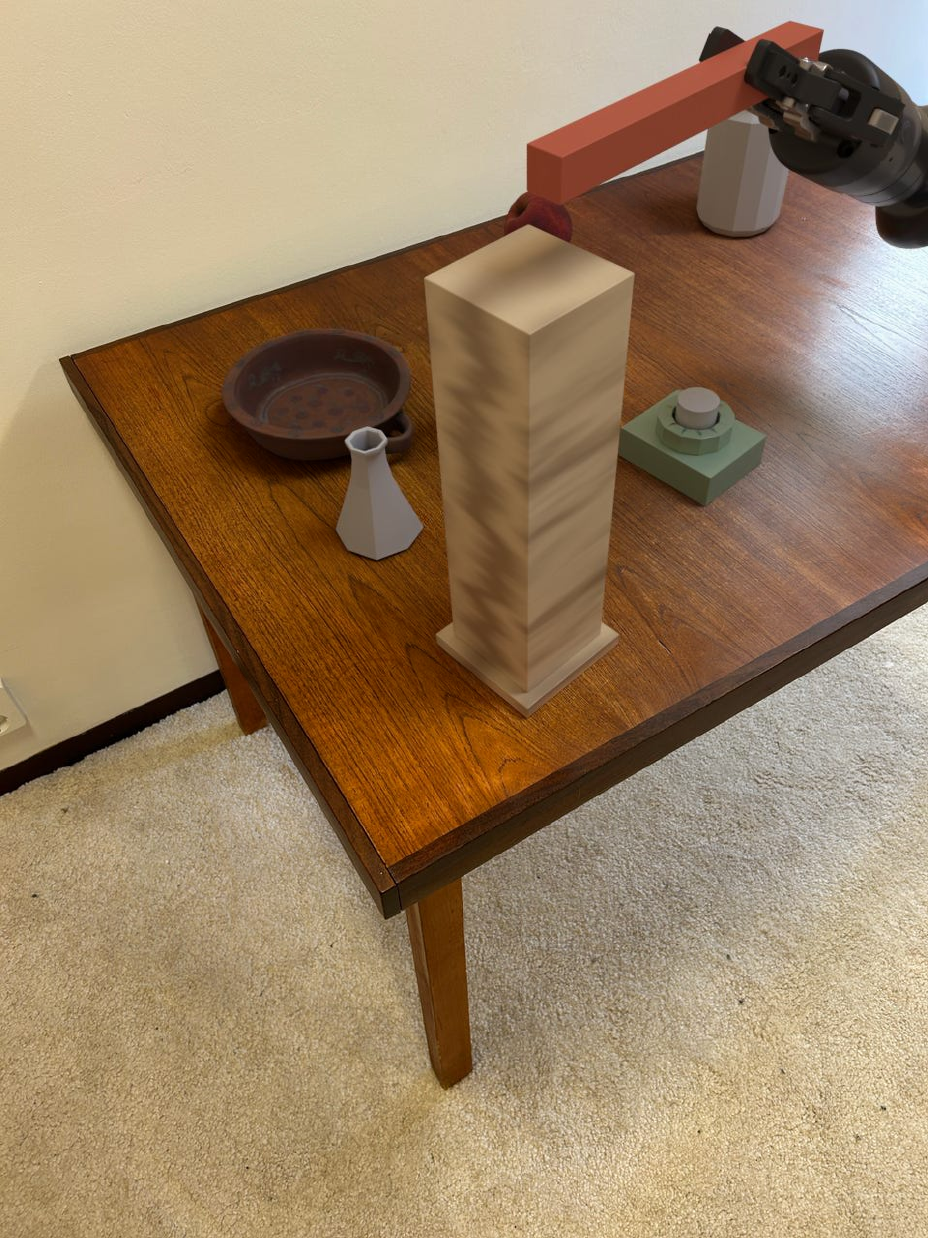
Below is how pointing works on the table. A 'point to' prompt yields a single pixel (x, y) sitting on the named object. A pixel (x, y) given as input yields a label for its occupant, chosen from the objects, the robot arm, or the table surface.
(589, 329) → the stand
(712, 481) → the green button base
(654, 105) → the rod
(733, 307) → the table surface
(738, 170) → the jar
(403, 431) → the dish
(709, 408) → the grey push button
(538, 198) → the apple
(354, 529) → the flask
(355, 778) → the table surface
